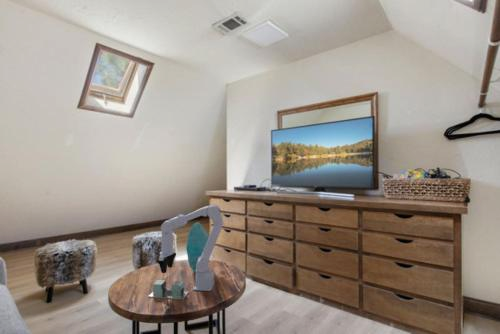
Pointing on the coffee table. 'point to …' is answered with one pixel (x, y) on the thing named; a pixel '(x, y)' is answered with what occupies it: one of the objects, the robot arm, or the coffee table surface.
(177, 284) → the rail
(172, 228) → the robot arm
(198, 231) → the crystal
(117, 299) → the coffee table surface
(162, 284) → the block
